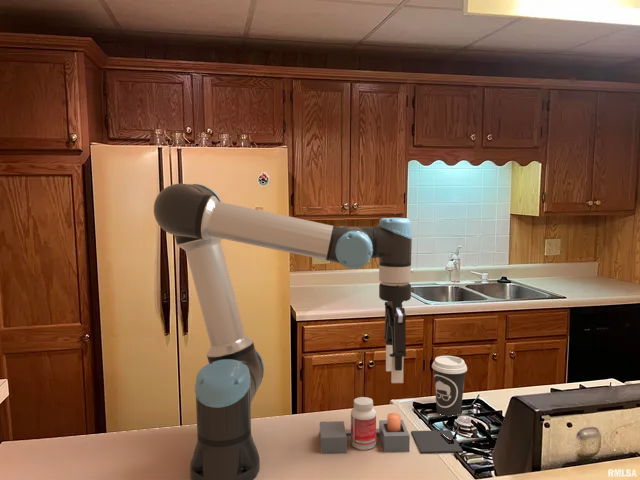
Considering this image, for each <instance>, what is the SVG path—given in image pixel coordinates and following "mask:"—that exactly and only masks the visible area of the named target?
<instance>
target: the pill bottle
mask: <svg viewBox="0 0 640 480" xmlns="http://www.w3.org/2000/svg"><path fill="white" fill-rule="evenodd" d="M350 429H351V436H350V443H351V446H352V447H354V448H355V449H357V450H361V451H367V450H372V449H373V448H374V447H375V446H376V445H377V436H376V429H377V412H376V410H375V408H374V400H373V399H372V398H370V397H366V396H360V397H357V398H356V397H355V398H354V399H353V408H352V409H351V411H350Z"/></svg>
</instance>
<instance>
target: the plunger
mask: <svg viewBox="0 0 640 480" xmlns="http://www.w3.org/2000/svg"><path fill="white" fill-rule="evenodd" d="M401 417H402V416H401V415H400V414H399V413H395V412H391V413H390V412H389V413H388V414H387V417H386V418H387V419H386V420H387V432H400V429H401V420H402V419H401Z"/></svg>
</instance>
